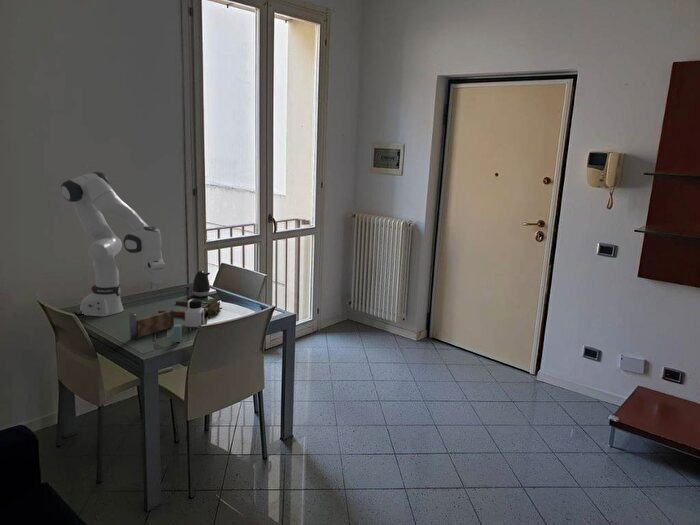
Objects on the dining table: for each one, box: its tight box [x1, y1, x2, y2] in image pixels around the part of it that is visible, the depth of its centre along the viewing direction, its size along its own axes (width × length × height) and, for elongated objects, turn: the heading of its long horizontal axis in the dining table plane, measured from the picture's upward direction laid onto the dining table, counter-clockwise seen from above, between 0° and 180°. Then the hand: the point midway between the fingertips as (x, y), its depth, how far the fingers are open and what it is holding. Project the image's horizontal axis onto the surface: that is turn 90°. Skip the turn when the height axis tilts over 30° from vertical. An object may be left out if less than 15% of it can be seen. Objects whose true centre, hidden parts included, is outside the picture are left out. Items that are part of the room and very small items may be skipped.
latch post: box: [172, 323, 183, 343], centre depth 238 cm, size 3×3×8 cm
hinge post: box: [128, 313, 138, 341], centre depth 237 cm, size 3×3×12 cm
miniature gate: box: [157, 297, 223, 320], centre depth 279 cm, size 27×6×30 cm
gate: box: [137, 309, 175, 338], centre depth 247 cm, size 20×2×8 cm, turn 147°
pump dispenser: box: [191, 270, 211, 298], centre depth 307 cm, size 10×10×15 cm
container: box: [184, 298, 205, 328], centre depth 260 cm, size 8×8×13 cm
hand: (153, 289), depth 249 cm, fingers closed
